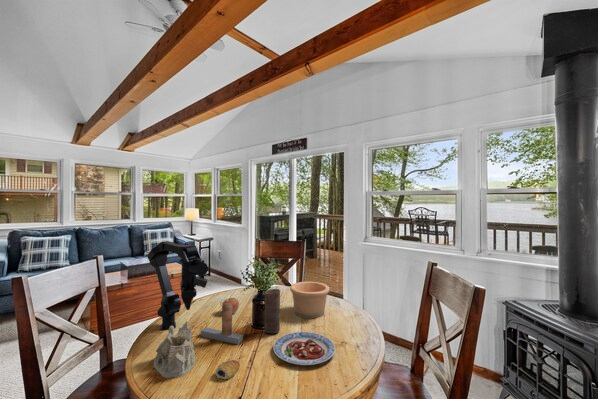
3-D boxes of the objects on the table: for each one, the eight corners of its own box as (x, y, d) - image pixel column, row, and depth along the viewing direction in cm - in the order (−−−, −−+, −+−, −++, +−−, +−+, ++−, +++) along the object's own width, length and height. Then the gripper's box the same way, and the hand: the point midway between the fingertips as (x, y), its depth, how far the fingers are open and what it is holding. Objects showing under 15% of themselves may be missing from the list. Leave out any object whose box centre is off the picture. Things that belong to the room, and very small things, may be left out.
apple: (241, 312, 154) (241, 298, 154) (228, 317, 147) (228, 302, 147) (232, 308, 160) (232, 294, 160) (218, 313, 153) (219, 298, 153)
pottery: (295, 322, 143) (295, 294, 143) (286, 306, 164) (287, 282, 164) (334, 319, 148) (334, 292, 148) (321, 304, 169) (321, 280, 169)
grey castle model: (163, 352, 113) (164, 316, 112) (202, 355, 112) (203, 319, 111) (139, 378, 98) (140, 337, 97) (184, 383, 97) (185, 341, 96)
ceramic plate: (325, 334, 131) (325, 328, 131) (343, 367, 105) (344, 359, 105) (271, 338, 126) (271, 331, 126) (276, 373, 101) (276, 365, 101)
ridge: (200, 336, 127) (200, 330, 127) (206, 332, 130) (206, 327, 130) (238, 344, 120) (238, 338, 120) (242, 340, 123) (242, 335, 123)
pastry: (230, 363, 107) (230, 353, 107) (244, 368, 104) (244, 357, 104) (213, 377, 98) (213, 366, 98) (228, 382, 95) (228, 371, 95)
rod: (222, 331, 126) (223, 303, 126) (232, 331, 127) (233, 303, 127) (220, 336, 122) (221, 306, 122) (231, 336, 122) (231, 306, 122)
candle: (277, 336, 128) (277, 293, 128) (262, 334, 129) (262, 291, 129) (281, 329, 135) (282, 288, 135) (267, 327, 137) (267, 287, 137)
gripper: (208, 275, 124) (208, 311, 124) (204, 266, 141) (203, 297, 141) (181, 278, 119) (180, 314, 119) (180, 268, 136) (180, 300, 136)
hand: (187, 306), depth 129 cm, fingers open, 9 cm apart
